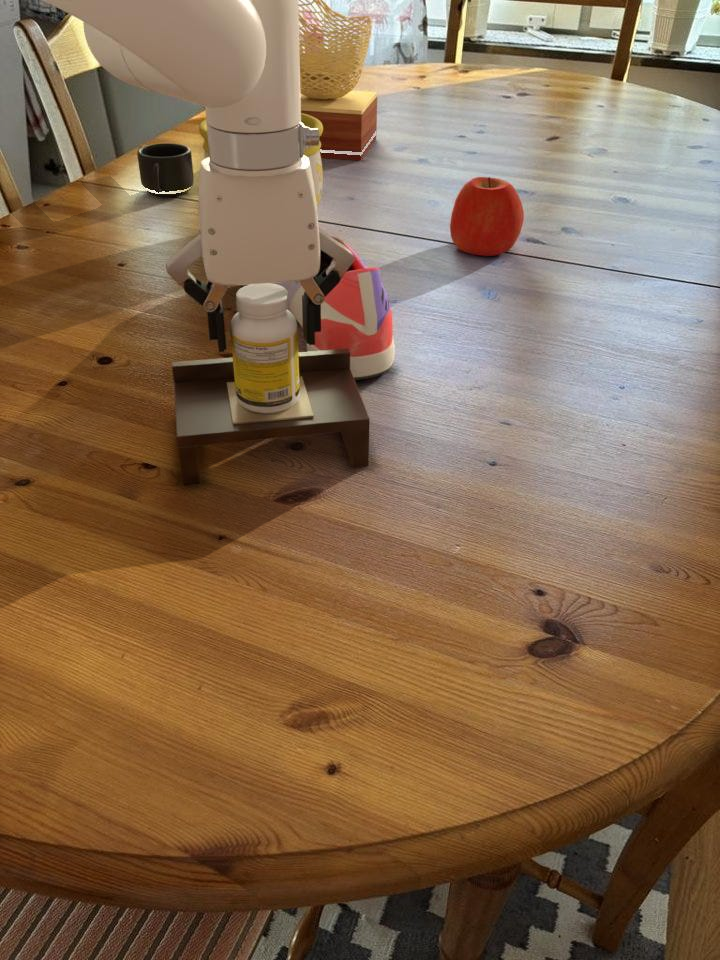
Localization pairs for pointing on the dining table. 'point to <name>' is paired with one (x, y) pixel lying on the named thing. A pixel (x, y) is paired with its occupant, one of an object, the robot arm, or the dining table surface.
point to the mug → (166, 168)
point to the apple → (486, 217)
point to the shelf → (221, 419)
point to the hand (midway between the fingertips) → (265, 340)
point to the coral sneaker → (352, 317)
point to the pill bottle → (265, 349)
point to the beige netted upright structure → (337, 83)
